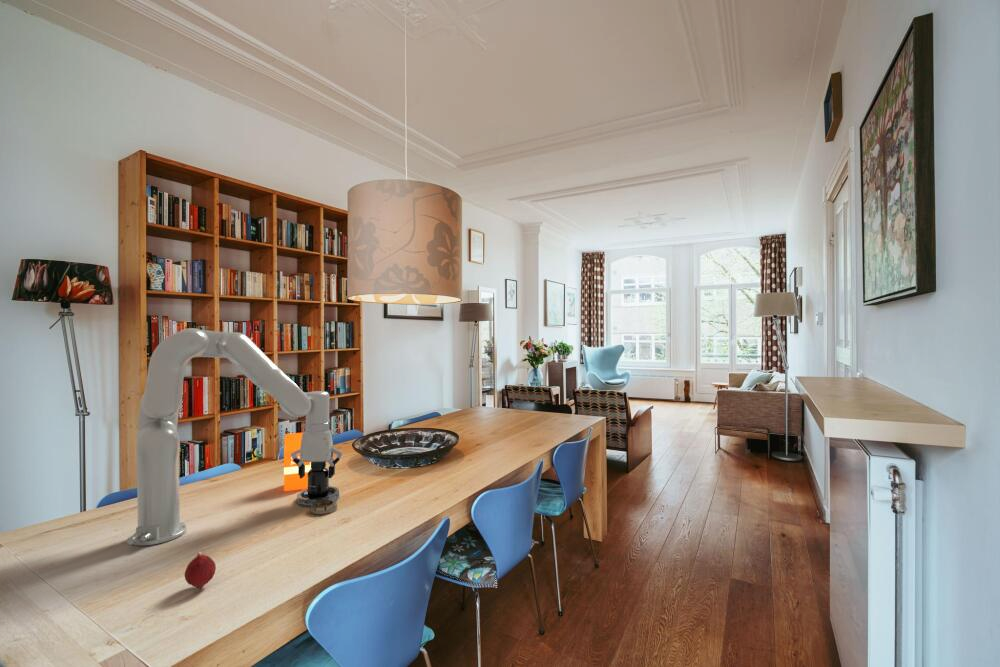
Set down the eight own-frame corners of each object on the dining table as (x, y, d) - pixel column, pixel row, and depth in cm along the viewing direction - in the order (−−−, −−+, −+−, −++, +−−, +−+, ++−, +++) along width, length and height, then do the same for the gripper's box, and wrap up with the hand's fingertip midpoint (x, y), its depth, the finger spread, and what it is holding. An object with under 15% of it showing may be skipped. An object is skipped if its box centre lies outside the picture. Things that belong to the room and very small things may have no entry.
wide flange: (332, 506, 149) (332, 499, 149) (290, 507, 148) (290, 500, 148) (343, 491, 163) (343, 485, 163) (305, 492, 162) (305, 486, 162)
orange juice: (310, 488, 166) (309, 434, 166) (283, 491, 163) (283, 436, 163) (310, 481, 174) (310, 429, 174) (285, 484, 170) (285, 431, 170)
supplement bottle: (306, 500, 151) (305, 465, 151) (309, 493, 158) (308, 459, 158) (327, 498, 153) (327, 463, 153) (329, 491, 159) (329, 458, 159)
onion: (221, 580, 105) (220, 545, 105) (205, 594, 99) (205, 558, 99) (195, 580, 105) (195, 546, 105) (178, 595, 99) (178, 558, 99)
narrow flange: (333, 514, 142) (333, 507, 142) (307, 515, 141) (306, 508, 141) (340, 504, 150) (340, 498, 150) (315, 505, 149) (315, 499, 149)
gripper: (287, 429, 151) (286, 481, 151) (340, 429, 152) (339, 480, 152) (295, 425, 158) (294, 474, 158) (346, 425, 159) (345, 473, 159)
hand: (316, 477), depth 155 cm, fingers open, 9 cm apart
